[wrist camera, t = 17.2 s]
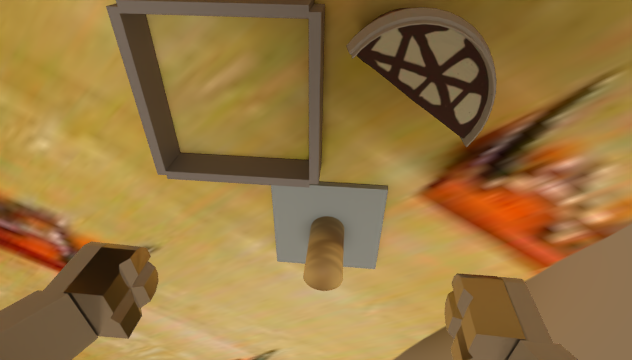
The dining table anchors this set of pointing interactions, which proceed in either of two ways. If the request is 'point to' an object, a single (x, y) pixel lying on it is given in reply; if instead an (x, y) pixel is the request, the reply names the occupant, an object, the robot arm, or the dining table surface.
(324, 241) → the peg
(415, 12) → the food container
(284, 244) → the mat
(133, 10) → the frame
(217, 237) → the dining table surface
